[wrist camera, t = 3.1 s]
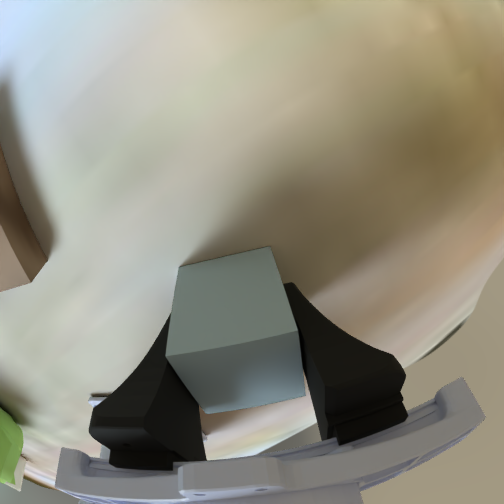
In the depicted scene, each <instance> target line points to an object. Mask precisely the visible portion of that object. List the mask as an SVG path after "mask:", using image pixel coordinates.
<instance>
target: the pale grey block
mask: <svg viewBox="0 0 504 504" xmlns="http://www.w3.org/2000/svg"><path fill="white" fill-rule="evenodd" d="M165 356H166V358H167V359H168V361H169V362H170V364H171V365H172V367H173V368H174V370H175V371H176V373H177V374H178V376H179V377H180V379H181V380H182V382H183V383H184V384H185V386H186V387H187V389H188V390H189V391H190V393H191V394H192V396H193V397H194V398H195V400H196V401H197V402H198V404H199V405H200V406H201V408H202V409H203V410H204V412H205V413H206V414H211V413H219V412H226V411H233V410H239V409H245V408H251V407H256V406H262V405H267V404H272V403H276V402H281V401H285V400H290V399H294V398H298V397H302V396H306V394H305V385H304V376H303V367H302V359H301V351H300V343H299V335H298V329H297V326H296V323H295V320H294V317H293V314H292V311H291V308H290V305H289V301H288V298H287V295H286V292H285V289H284V286H283V283H282V280H281V277H280V274H279V271H278V268H277V265H276V262H275V259H274V256H273V253H272V250H271V247H270V246H269V247H264V248H260V249H256V250H251V251H247V252H243V253H238V254H234V255H229V256H225V257H221V258H216V259H212V260H208V261H203V262H199V263H195V264H190V265H186V266H182V267H179V269H178V275H177V281H176V287H175V293H174V299H173V305H172V312H171V318H170V325H169V332H168V340H167V347H166V355H165Z"/></svg>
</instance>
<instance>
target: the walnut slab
mask: <svg viewBox="0 0 504 504" xmlns="http://www.w3.org/2000/svg"><path fill="white" fill-rule="evenodd" d="M47 261H48V260H47V258H46V257H45V255H44V253H43V251H42V249H41V247H40V245H39V243H38V241H37V239H36V237H35V235H34V232H33V230H32V228H31V226H30V224H29V221H28V219H27V217H26V215H25V212H24V210H23V208H22V205H21V203H20V200H19V198H18V195H17V193H16V190H15V187H14V185H13V182H12V179H11V176H10V173H9V170H8V167H7V164H6V161H5V158H4V155H3V151H2V148H1V144H0V292H2V291H5V290H8V289H12V288H15V287H18V286H22V285H25V284H28V283H31V282H32V281H33V279H34V278H35V277H36V275H37V274H38V273H39V271H40V270H41V269H42V267H43V266H44V265H45V263H46V262H47Z"/></svg>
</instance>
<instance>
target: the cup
mask: <svg viewBox="0 0 504 504" xmlns="http://www.w3.org/2000/svg"><path fill="white" fill-rule="evenodd" d="M25 464H26V459H25V458H23V457H22V456H20V457H19V460H18V463H17V466H16V469H15V471H14V477H15V485H14V484H11V483H9V482H7V481H6V482H5V484H6V485H8V486H10V487H12V488H14V489H16V490H18V491H21V486H22V480H23V475H24V469H25Z"/></svg>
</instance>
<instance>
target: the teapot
mask: <svg viewBox="0 0 504 504" xmlns="http://www.w3.org/2000/svg"><path fill="white" fill-rule="evenodd" d="M22 448H23V433H22V430H21V428H20V427H19V426H18V425H17V424H16V423H15V422H14V421H13V420H12V417H11V416H10V415H9V414H8V413H6V412H5V411H3V410H2V409H1V408H0V482H1V483H5V482H6V481H7V482H9V483H11V484H14V485H15V477H14V471H15V469H16V466H17V463H18V460H19V457H20V455H21V452H22Z"/></svg>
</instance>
